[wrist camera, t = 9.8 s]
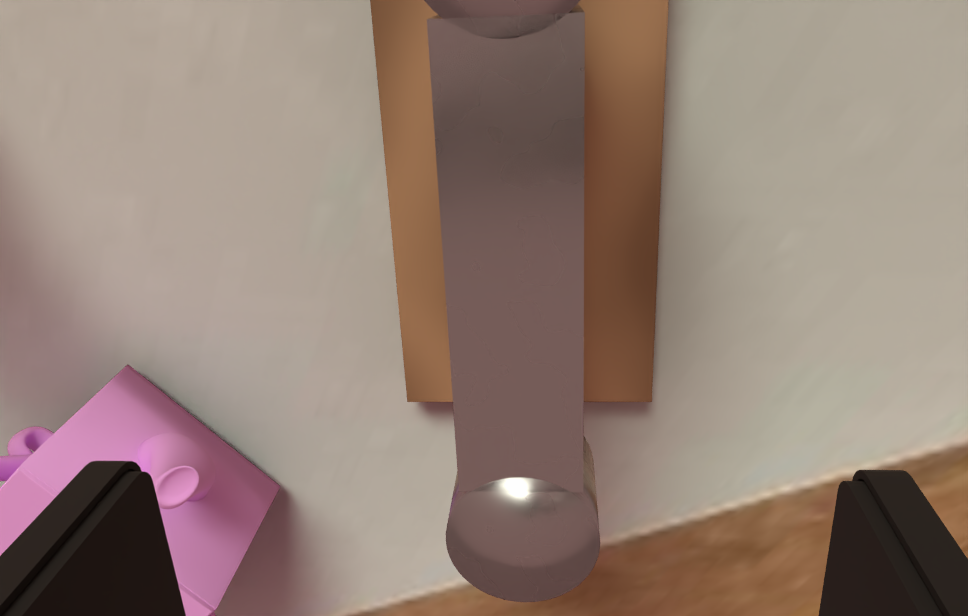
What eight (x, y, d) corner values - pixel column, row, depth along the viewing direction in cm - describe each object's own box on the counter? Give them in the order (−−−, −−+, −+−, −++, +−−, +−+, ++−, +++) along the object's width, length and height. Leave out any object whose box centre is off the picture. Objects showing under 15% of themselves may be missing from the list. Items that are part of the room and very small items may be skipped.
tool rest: (666, -92, 27) (701, -110, 21) (647, 383, 34) (670, 481, 27) (372, -76, 28) (318, -88, 21) (413, 384, 35) (381, 479, 28)
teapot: (159, 251, 33) (7, 361, 24) (405, 459, 36) (355, 628, 27) (-48, 494, 39) (-234, 658, 30) (178, 656, 42) (73, 850, 33)
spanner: (599, -171, 20) (609, -202, 16) (593, 521, 28) (599, 603, 25) (418, -160, 21) (388, -187, 17) (463, 519, 29) (450, 600, 25)
